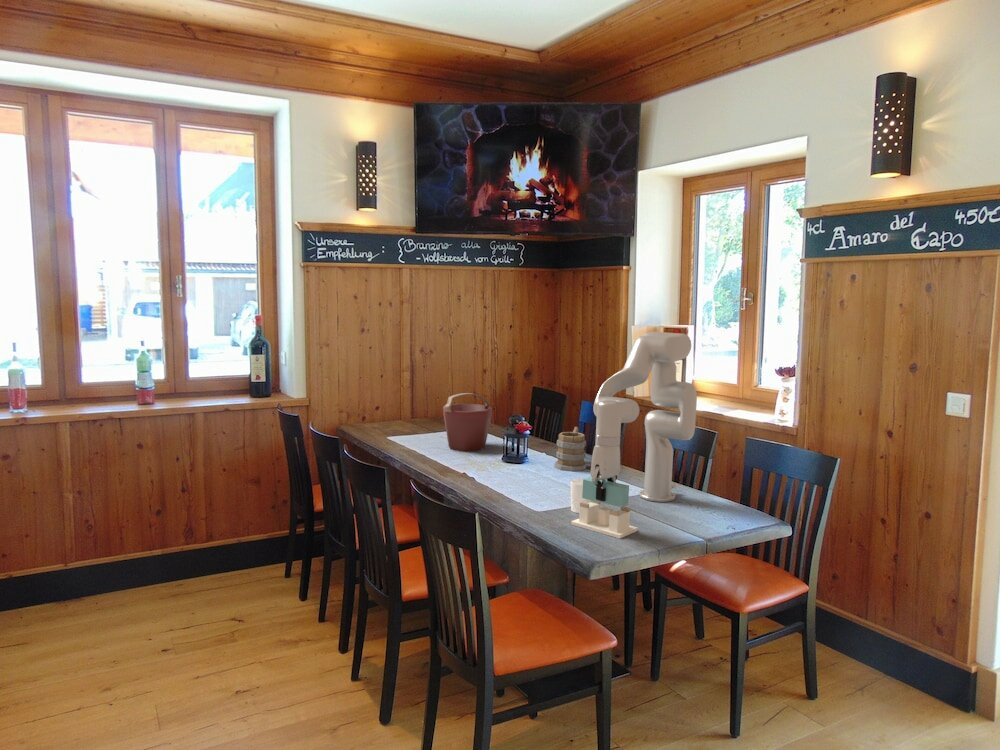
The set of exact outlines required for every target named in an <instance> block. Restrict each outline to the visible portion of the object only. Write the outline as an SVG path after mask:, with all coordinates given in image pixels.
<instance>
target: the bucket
mask: <svg viewBox="0 0 1000 750" xmlns="http://www.w3.org/2000/svg"><path fill="white" fill-rule="evenodd" d="M463 396H474V397H477V398H478V399H480V400H482V401H483V402H484V403H485V405H484V404H481V403H480V404H479V403H454V399H457V398H460V397H463ZM442 413H443V414H442V415H443V420H444V425H445V426H444V427H445V432H446V438H447V444H448V447H449V449H450V450H452V451H457V452H478V451H479V452H481V451H482V450H483V449H485V447H486V444H487V440H488V434H489V430H490V426H491V422H492V415H493V407H491V403H490V401H488V399H487V398H485V397H483V396H482V395H479V394H476V393H470V392H464V393H462V392H461V393H457V394H453V395H450V396H448V397H447V403H445V405H443V407H442Z"/></svg>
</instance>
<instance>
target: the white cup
mask: <svg viewBox="0 0 1000 750" xmlns="http://www.w3.org/2000/svg"><path fill="white" fill-rule="evenodd" d="M583 479H584V478H574V479H571V480H570V511H571V512H573V513H575V514H579V513H580V502H583V503H587V504H588V503H590V502H591V500H588V499H584V498H582V492H583Z"/></svg>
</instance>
